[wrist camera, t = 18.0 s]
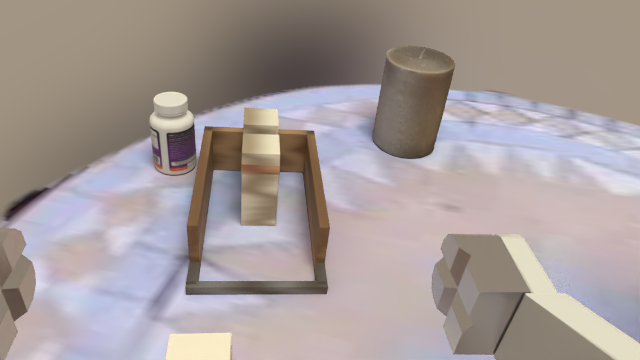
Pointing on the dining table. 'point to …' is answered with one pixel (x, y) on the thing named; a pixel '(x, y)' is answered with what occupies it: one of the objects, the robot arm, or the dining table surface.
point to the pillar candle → (412, 100)
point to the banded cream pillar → (199, 346)
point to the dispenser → (258, 194)
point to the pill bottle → (172, 134)
